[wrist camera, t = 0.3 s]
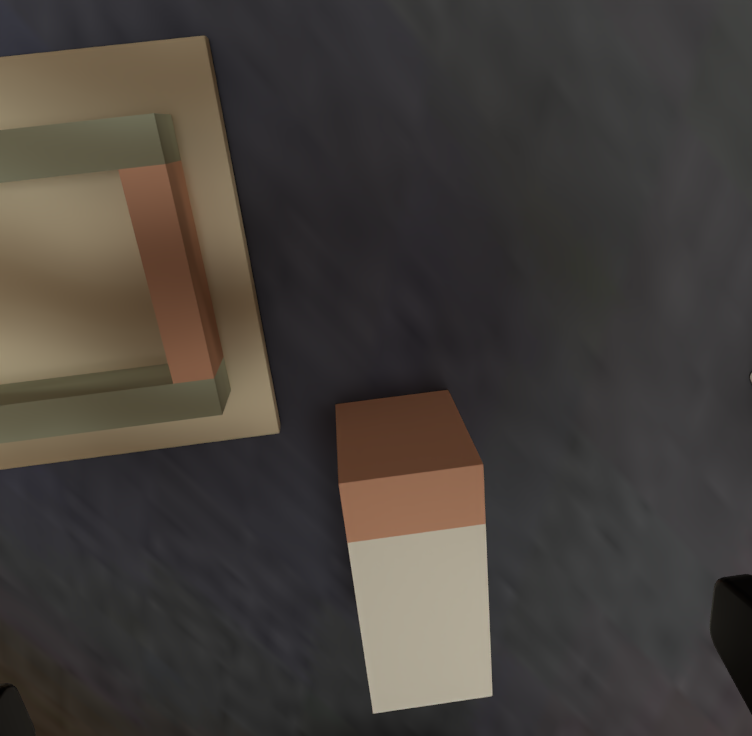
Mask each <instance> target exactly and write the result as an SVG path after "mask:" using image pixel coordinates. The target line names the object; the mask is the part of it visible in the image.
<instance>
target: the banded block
mask: <svg viewBox="0 0 752 736" xmlns="http://www.w3.org/2000/svg"><path fill="white" fill-rule="evenodd" d="M335 409H336V434H337V459H338V483H339V490H340V497H341V503H342V510H343V517H344V523H345V530H346V537H347V543H348V550H349V557H350V563H351V570H352V576H353V583H354V590H355V596H356V603H357V610H358V616H359V623H360V630H361V636H362V643H363V649H364V656H365V663H366V669H367V676H368V683H369V689H370V696H371V702H372V709H373V714H374V713H381V712H388V711H394V710H401V709H408V708H415V707H421V706H428V705H435V704H442V703H448V702H455V701H462V700H469V699H476V698H482V697H489V696H492V672H491V647H490V621H489V596H488V571H487V545H486V520H485V495H484V470H483V463H482V461H481V458H480V456H479V454H478V452H477V450H476V448H475V446H474V444H473V441H472V439H471V437H470V435H469V433H468V431H467V429H466V427H465V424H464V422H463V420H462V418H461V416H460V414H459V412H458V410H457V407H456V405H455V403H454V401H453V399H452V397H451V395H450V393H449V390H442V391H434V392H427V393H419V394H411V395H403V396H396V397H388V398H380V399H372V400H365V401H357V402H349V403H341V404H335Z"/></svg>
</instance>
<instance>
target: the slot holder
mask: <svg viewBox="0 0 752 736" xmlns="http://www.w3.org/2000/svg"><path fill="white" fill-rule="evenodd" d="M279 432H280V419H279V414H278V409H277V403H276V398H275V392H274V387H273V382H272V376H271V371H270V366H269V360H268V355H267V350H266V344H265V339H264V334H263V328H262V323H261V317H260V312H259V307H258V301H257V296H256V291H255V285H254V280H253V275H252V269H251V264H250V258H249V253H248V248H247V242H246V237H245V232H244V226H243V221H242V216H241V210H240V205H239V200H238V194H237V189H236V183H235V178H234V173H233V167H232V162H231V157H230V151H229V146H228V141H227V135H226V130H225V124H224V119H223V114H222V108H221V103H220V98H219V92H218V87H217V82H216V76H215V71H214V66H213V60H212V55H211V49H210V44H209V39H208V38H207V37H206V36H195V37H186V38H176V39H167V40H157V41H148V42H138V43H129V44H120V45H110V46H101V47H91V48H82V49H72V50H63V51H53V52H44V53H34V54H25V55H16V56H6V57H0V470H1V469H9V468H16V467H24V466H32V465H39V464H47V463H55V462H62V461H70V460H78V459H85V458H93V457H101V456H108V455H116V454H123V453H131V452H139V451H146V450H154V449H162V448H169V447H177V446H185V445H192V444H200V443H208V442H215V441H223V440H230V439H238V438H246V437H253V436H261V435H269V434H276V433H279Z"/></svg>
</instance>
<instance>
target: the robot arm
mask: <svg viewBox="0 0 752 736" xmlns="http://www.w3.org/2000/svg"><path fill="white" fill-rule="evenodd" d="M710 634H711V638H712V641H713V643H714V646H715V648H716V650H717V652H718V653H719V655H720V657H721V659H722V661H723V663H724V664H725V666H726V668H727V670H728V672H729V674H730V675H731V677H732V679H733V681H734V683H735V685H736V687H737V688H738V690H739V692H740V694H741V696H742V698H743V699H744V701H745V703H746V705H747V707H748V709H749V710H750V712H751V714H752V575H749V574H743V575H736V576H729V577H723V578H720V579H718V580H717V582H716V583H715V586H714V592H713V601H712V609H711V617H710ZM0 736H35V729H34V726H33V723H32V721H31V719H30V717H29V714H28V712H27V710H26V708H25V705H24V703H23V701H22V699H21V696H20V694H19V692H18V690H17V688H16V687H15V686H13V685H12V684H8V683H5V684H0Z"/></svg>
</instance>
